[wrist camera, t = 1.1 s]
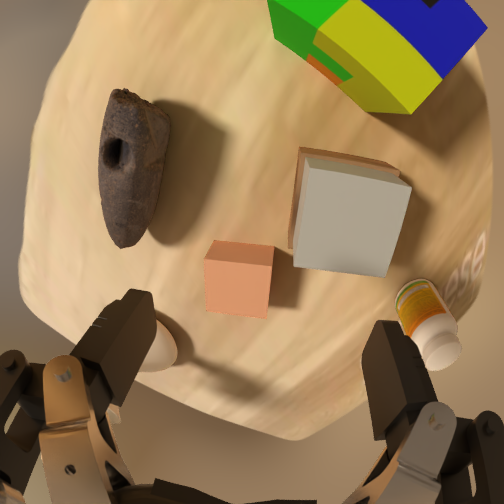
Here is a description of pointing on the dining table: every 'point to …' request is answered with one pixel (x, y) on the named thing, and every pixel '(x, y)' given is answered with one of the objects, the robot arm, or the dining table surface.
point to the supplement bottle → (428, 323)
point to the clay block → (238, 278)
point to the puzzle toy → (379, 45)
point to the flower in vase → (153, 361)
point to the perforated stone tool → (131, 164)
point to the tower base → (329, 157)
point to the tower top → (348, 218)
